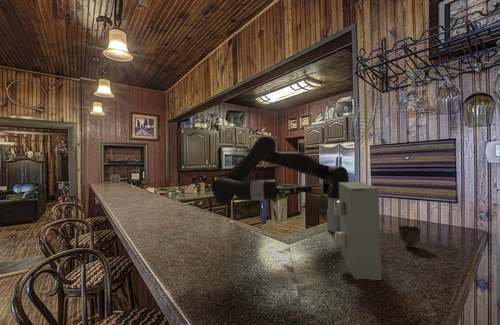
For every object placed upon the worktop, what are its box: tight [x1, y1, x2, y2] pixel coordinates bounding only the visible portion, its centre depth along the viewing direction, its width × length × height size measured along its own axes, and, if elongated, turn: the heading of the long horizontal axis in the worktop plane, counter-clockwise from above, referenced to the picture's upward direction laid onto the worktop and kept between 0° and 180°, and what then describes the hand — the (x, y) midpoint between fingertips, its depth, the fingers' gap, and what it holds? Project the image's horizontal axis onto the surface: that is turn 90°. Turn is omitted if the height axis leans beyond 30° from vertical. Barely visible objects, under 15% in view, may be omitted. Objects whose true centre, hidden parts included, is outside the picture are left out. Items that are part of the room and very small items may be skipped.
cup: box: [398, 225, 422, 249], centre depth 95 cm, size 8×7×8 cm
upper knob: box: [334, 201, 345, 215], centre depth 81 cm, size 7×5×5 cm
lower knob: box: [334, 232, 347, 248], centre depth 81 cm, size 7×5×5 cm
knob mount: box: [339, 181, 382, 281], centre depth 80 cm, size 8×20×28 cm, turn 168°
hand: (311, 188), depth 83 cm, fingers closed
